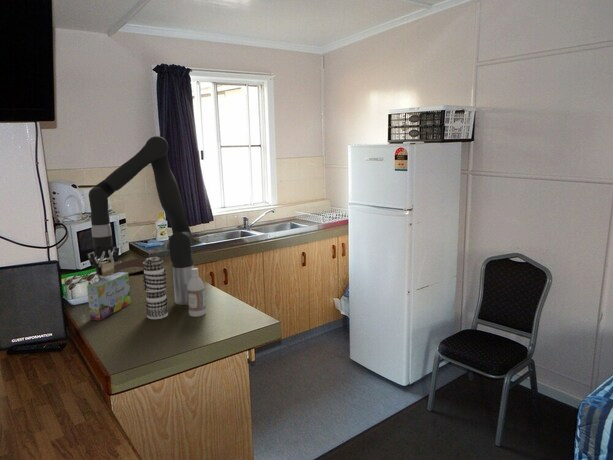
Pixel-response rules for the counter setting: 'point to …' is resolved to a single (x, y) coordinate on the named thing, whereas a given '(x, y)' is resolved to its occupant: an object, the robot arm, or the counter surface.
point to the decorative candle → (155, 288)
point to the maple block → (107, 268)
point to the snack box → (108, 295)
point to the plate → (130, 264)
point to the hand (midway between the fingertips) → (105, 273)
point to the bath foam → (196, 295)
